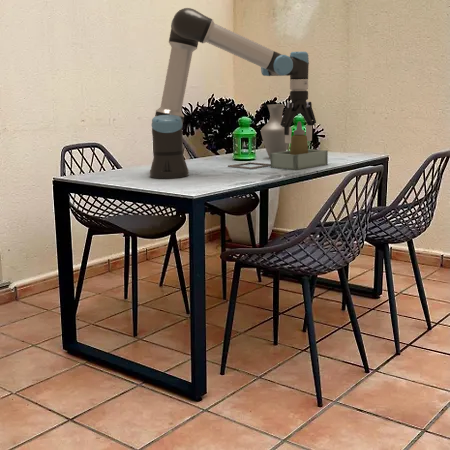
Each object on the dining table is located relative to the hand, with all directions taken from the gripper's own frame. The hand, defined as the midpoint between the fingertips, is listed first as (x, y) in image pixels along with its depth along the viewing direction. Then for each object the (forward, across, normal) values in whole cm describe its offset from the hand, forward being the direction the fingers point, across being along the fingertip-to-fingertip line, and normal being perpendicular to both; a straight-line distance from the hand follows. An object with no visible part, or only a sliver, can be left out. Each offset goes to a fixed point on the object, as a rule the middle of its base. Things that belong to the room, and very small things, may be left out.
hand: (298, 142), depth 267 cm
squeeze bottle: (+10, 0, 0) cm, 10 cm away
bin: (+10, 0, 0) cm, 10 cm away
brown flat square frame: (+10, -12, +17) cm, 23 cm away
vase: (+10, +16, +27) cm, 33 cm away
